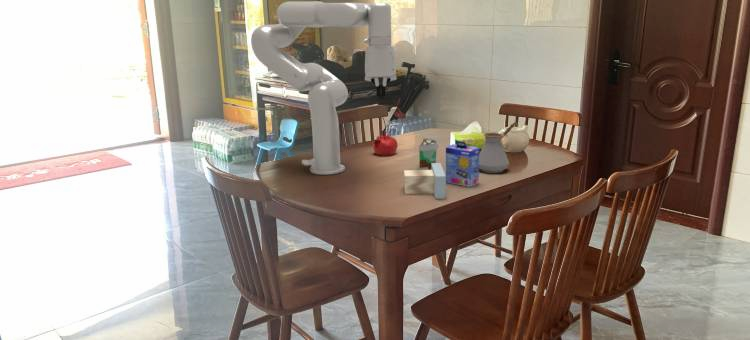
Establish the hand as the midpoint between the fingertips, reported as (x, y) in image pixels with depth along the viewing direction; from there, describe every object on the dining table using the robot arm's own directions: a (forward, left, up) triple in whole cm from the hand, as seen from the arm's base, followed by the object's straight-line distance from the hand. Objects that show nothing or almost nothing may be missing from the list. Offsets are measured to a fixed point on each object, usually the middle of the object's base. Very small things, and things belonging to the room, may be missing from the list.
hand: (381, 97), depth 194 cm
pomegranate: (+1, +32, -27) cm, 42 cm away
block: (+12, -18, -27) cm, 35 cm away
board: (+18, -19, -27) cm, 37 cm away
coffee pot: (+42, +8, -27) cm, 51 cm away
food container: (+17, +8, -27) cm, 33 cm away
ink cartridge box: (+26, -11, -27) cm, 39 cm away
